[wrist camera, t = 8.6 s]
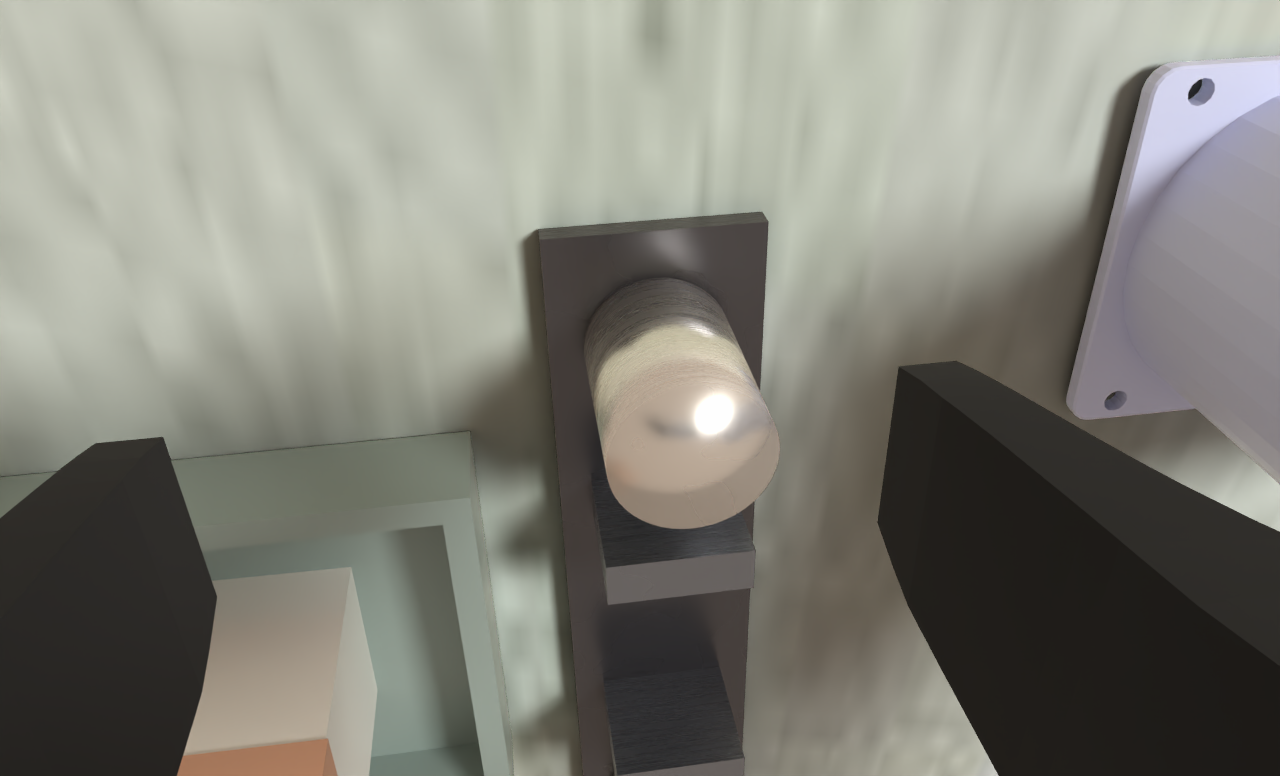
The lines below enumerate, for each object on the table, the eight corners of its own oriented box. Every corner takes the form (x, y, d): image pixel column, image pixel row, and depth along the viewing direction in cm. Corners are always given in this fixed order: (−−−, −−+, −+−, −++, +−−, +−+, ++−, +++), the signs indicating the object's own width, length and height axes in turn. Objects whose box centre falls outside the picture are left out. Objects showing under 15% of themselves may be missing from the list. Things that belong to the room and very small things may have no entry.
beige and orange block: (352, 564, 22) (318, 800, 17) (379, 691, 24) (356, 932, 19) (160, 584, 22) (67, 831, 17) (205, 710, 24) (134, 964, 19)
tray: (469, 431, 21) (470, 497, 20) (512, 737, 27) (515, 813, 25) (-26, 480, 20) (-79, 555, 18) (121, 789, 26) (92, 873, 24)
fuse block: (762, 211, 20) (831, 320, 16) (734, 809, 30) (772, 961, 26) (538, 228, 19) (554, 344, 15) (587, 830, 29) (604, 988, 26)
